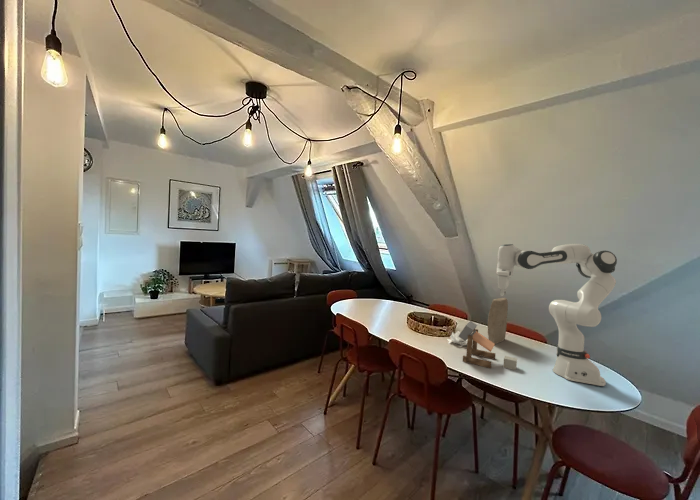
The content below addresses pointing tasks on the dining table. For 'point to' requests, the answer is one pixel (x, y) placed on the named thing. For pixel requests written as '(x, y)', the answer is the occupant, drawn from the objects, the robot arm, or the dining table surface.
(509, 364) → the stone
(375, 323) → the dining table surface
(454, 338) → the lotus flower
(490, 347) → the hammer
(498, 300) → the stone tablet
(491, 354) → the frame
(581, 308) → the robot arm
